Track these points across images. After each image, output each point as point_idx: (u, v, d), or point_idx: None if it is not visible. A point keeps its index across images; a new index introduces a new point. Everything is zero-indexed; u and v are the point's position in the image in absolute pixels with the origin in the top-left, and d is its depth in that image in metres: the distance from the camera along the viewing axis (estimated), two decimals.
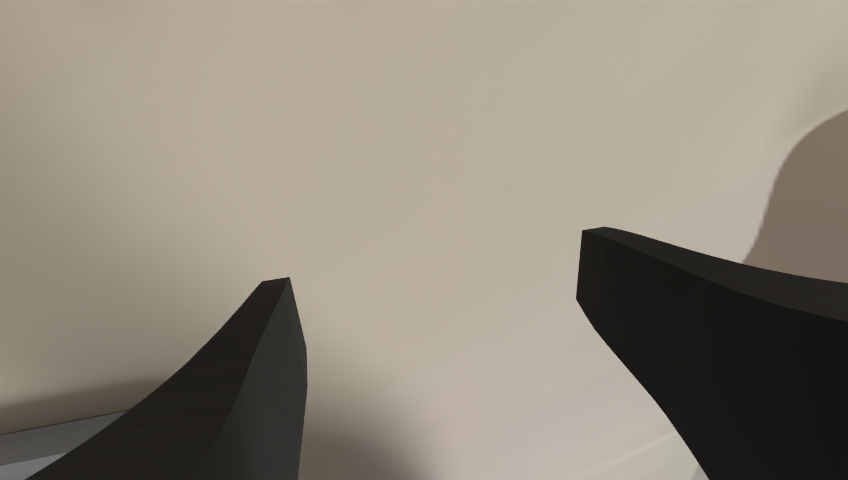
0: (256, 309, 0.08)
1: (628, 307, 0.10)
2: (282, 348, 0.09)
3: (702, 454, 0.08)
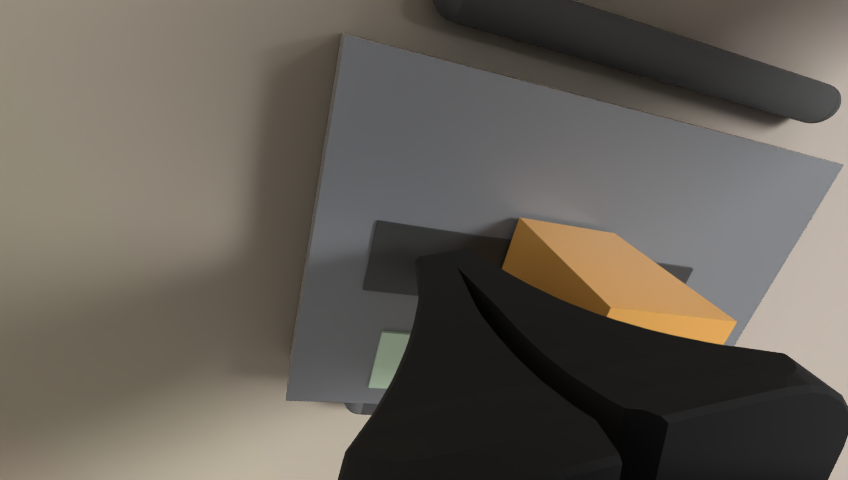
0: (444, 278, 0.09)
1: None
2: None
3: None
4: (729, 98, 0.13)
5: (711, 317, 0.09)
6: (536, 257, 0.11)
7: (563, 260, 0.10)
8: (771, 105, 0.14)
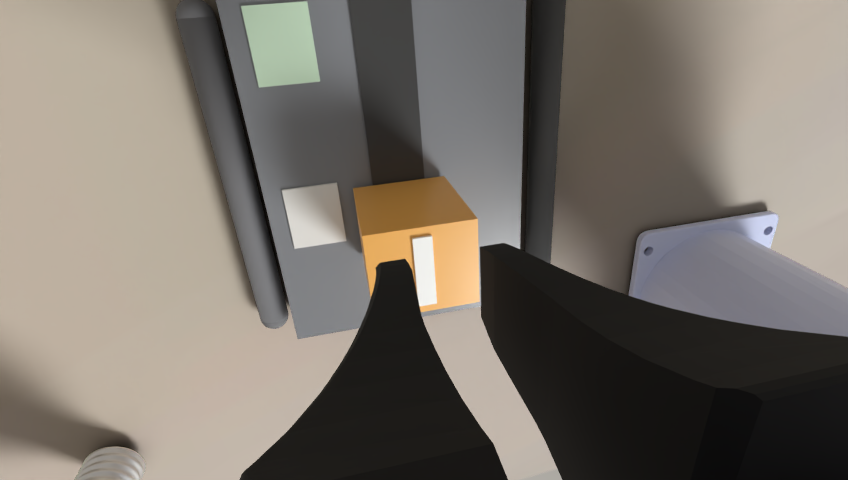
0: (397, 285, 0.09)
1: (514, 329, 0.10)
2: None
3: None
4: (530, 209, 0.21)
5: (478, 285, 0.15)
6: (441, 190, 0.16)
7: (461, 198, 0.15)
8: (533, 237, 0.21)
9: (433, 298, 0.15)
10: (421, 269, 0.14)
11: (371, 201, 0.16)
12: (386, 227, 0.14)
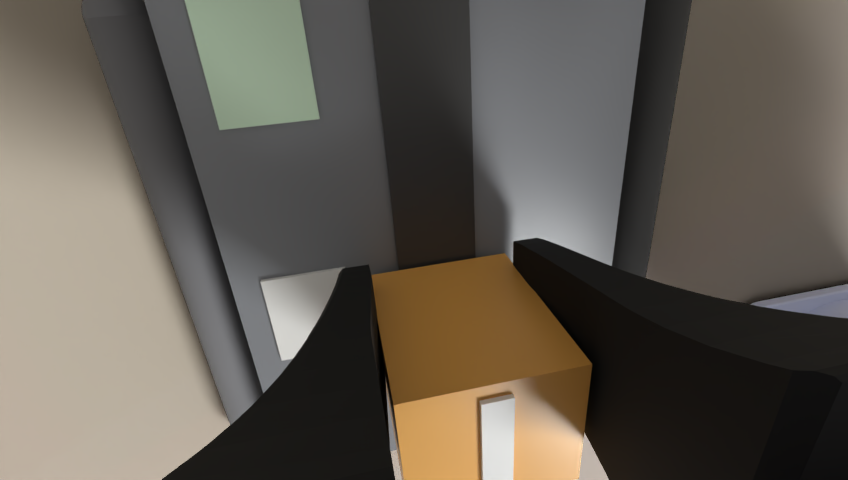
0: (353, 293, 0.09)
1: None
2: (376, 331, 0.09)
3: (613, 476, 0.08)
4: None
5: (580, 455, 0.09)
6: (508, 284, 0.10)
7: (546, 306, 0.10)
8: None
9: None
10: (492, 447, 0.08)
11: (400, 309, 0.10)
12: (435, 380, 0.08)
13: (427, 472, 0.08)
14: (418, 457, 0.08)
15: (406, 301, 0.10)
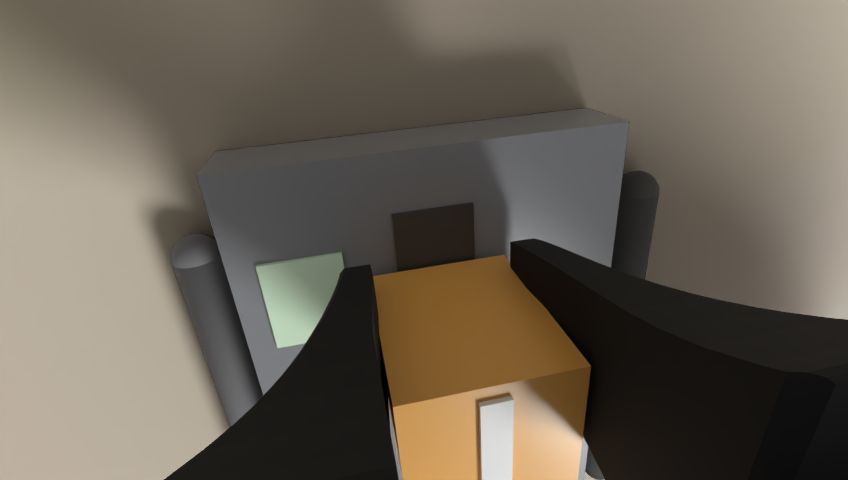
0: (354, 293, 0.09)
1: None
2: (377, 331, 0.09)
3: (611, 477, 0.08)
4: None
5: (579, 457, 0.09)
6: (507, 286, 0.10)
7: (545, 308, 0.10)
8: None
9: None
10: (490, 448, 0.08)
11: (399, 311, 0.10)
12: (433, 382, 0.08)
13: (426, 473, 0.08)
14: (417, 459, 0.08)
15: (405, 303, 0.10)
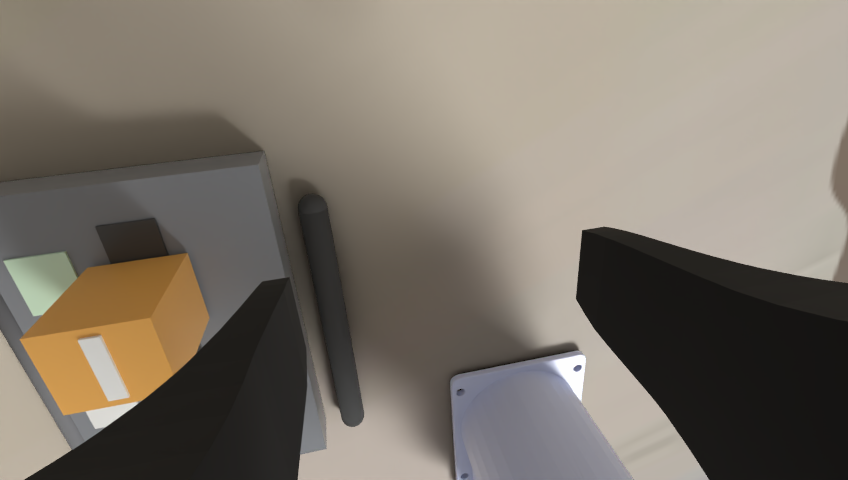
0: (256, 309, 0.08)
1: (629, 307, 0.10)
2: (282, 348, 0.09)
3: (702, 454, 0.08)
4: (332, 371, 0.23)
5: None
6: (163, 273, 0.16)
7: (168, 286, 0.15)
8: (339, 393, 0.23)
9: (125, 392, 0.14)
10: (98, 367, 0.14)
11: (81, 289, 0.15)
12: (55, 327, 0.14)
13: (62, 383, 0.14)
14: (51, 373, 0.14)
15: (91, 283, 0.16)
